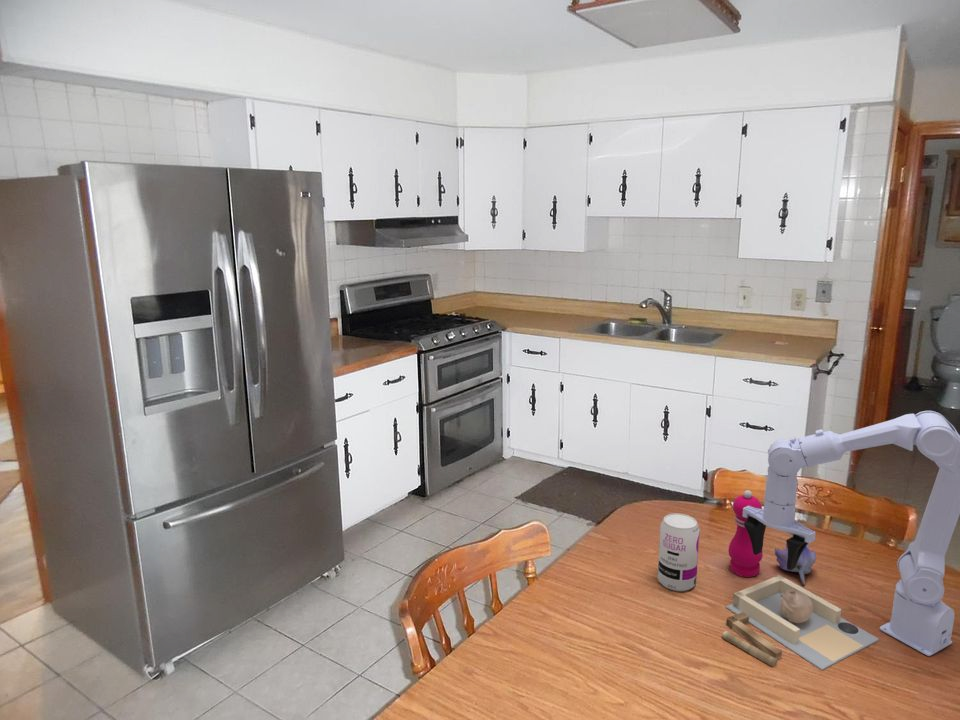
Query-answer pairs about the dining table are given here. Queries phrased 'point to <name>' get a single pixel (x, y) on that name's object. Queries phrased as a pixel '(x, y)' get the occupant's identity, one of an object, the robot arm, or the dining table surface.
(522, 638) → the dining table surface
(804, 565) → the flower
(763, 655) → the straight stick
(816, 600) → the cubby board
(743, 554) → the pepper mill
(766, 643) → the crook tool
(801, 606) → the garlic bulb
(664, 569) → the supplement can
